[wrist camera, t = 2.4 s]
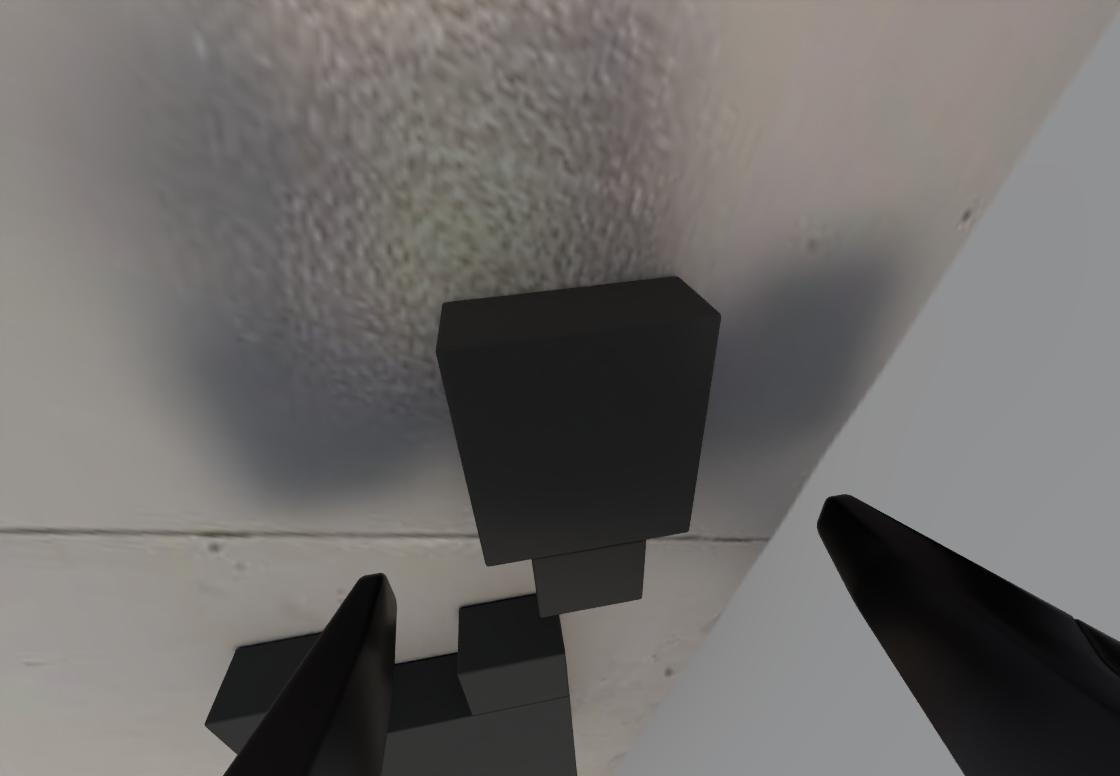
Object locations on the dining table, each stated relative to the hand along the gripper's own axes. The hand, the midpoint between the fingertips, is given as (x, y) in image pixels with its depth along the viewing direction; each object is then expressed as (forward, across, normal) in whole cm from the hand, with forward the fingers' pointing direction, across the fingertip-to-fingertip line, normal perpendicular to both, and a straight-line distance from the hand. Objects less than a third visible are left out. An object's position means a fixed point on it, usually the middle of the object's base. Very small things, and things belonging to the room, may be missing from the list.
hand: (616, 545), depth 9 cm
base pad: (+5, +7, +15) cm, 17 cm away
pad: (+5, 0, +1) cm, 5 cm away
